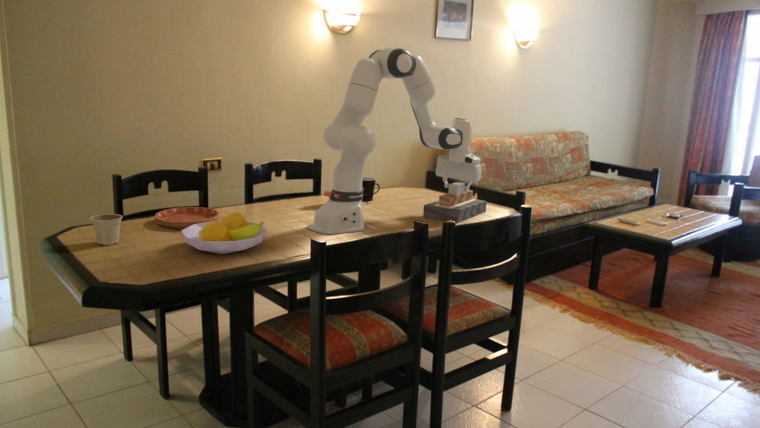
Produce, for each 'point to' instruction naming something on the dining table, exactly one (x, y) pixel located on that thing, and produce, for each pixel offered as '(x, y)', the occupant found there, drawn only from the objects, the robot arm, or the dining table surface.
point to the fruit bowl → (225, 234)
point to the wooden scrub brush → (455, 198)
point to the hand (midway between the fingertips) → (456, 189)
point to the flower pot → (107, 228)
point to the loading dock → (455, 210)
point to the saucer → (185, 217)
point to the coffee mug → (368, 188)
